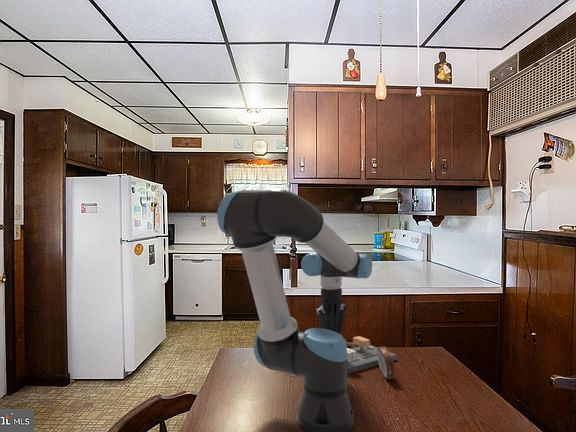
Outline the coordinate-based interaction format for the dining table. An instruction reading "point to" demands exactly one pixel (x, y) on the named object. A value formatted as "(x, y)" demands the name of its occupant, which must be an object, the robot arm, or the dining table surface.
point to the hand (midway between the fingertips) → (332, 353)
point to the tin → (386, 363)
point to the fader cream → (351, 354)
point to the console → (365, 359)
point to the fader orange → (361, 342)
